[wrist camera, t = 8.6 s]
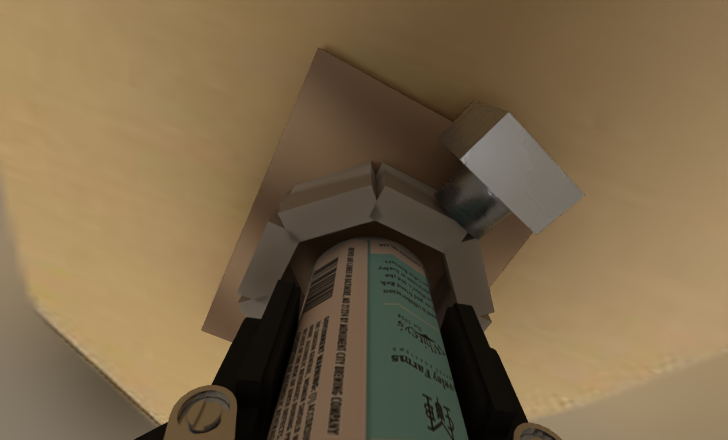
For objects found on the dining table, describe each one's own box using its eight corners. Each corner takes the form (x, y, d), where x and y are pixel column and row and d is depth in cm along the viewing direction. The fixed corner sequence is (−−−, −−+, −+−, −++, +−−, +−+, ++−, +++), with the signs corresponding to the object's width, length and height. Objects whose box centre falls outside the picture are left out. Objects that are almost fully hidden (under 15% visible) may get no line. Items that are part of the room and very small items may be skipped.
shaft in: (472, 220, 15) (501, 263, 12) (411, 164, 14) (424, 193, 11) (534, 165, 14) (585, 195, 11) (474, 100, 13) (509, 112, 10)
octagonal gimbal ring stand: (322, 48, 13) (303, 42, 10) (554, 177, 15) (616, 215, 11) (211, 314, 18) (169, 380, 15) (395, 386, 20) (402, 461, 16)
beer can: (311, 329, 15) (161, 1006, 4) (306, 228, 13) (14, 988, 2) (422, 332, 15) (559, 1022, 4) (434, 232, 13) (734, 1014, 2)
